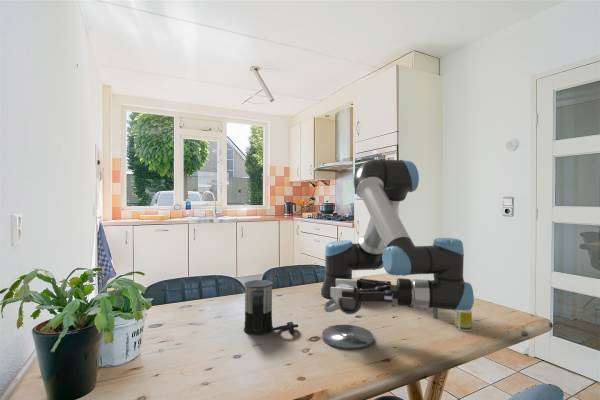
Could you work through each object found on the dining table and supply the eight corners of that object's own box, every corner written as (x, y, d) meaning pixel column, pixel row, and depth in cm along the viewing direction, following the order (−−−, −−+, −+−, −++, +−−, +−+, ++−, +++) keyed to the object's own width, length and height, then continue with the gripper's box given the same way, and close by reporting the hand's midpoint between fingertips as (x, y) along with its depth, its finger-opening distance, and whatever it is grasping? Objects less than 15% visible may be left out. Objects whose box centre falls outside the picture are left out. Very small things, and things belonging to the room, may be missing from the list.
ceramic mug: (352, 304, 100) (352, 280, 100) (363, 313, 92) (363, 286, 92) (320, 307, 98) (320, 282, 98) (328, 316, 90) (328, 289, 90)
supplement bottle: (474, 329, 102) (474, 303, 102) (466, 333, 100) (466, 306, 100) (460, 324, 106) (460, 299, 106) (451, 327, 104) (452, 301, 104)
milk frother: (241, 326, 105) (241, 280, 105) (286, 319, 111) (286, 276, 111) (251, 344, 91) (252, 292, 91) (302, 335, 98) (302, 286, 98)
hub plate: (312, 334, 98) (312, 330, 98) (350, 325, 106) (350, 321, 106) (343, 354, 85) (343, 350, 85) (384, 342, 93) (384, 338, 93)
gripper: (415, 319, 80) (327, 311, 85) (408, 295, 102) (338, 290, 107) (415, 289, 80) (327, 283, 86) (408, 271, 102) (338, 267, 107)
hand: (333, 287), depth 96 cm, fingers closed on ceramic mug, 10 cm apart
